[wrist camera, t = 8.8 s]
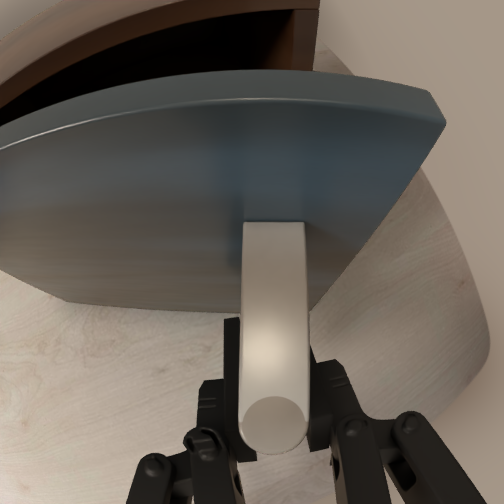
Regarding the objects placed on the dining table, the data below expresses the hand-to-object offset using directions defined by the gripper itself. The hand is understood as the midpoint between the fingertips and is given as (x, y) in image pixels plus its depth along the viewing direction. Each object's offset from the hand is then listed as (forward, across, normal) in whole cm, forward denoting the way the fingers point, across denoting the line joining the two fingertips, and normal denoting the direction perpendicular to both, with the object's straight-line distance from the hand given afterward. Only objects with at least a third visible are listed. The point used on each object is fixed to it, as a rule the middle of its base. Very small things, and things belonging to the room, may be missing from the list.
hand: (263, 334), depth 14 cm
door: (+4, -7, -3) cm, 9 cm away
